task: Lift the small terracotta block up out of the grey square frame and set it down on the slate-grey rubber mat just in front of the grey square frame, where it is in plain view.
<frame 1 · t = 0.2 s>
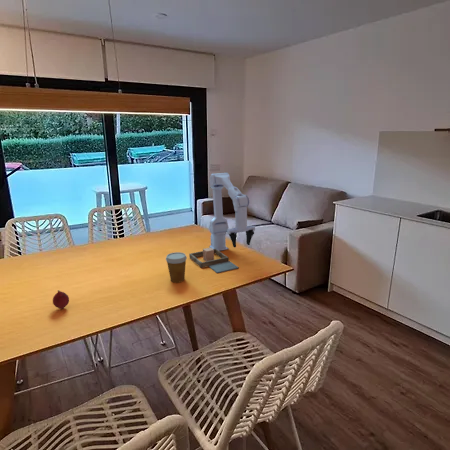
hand: (241, 245, 173), 10 cm above the table, tool pointing down, fingers open, 7 cm apart
disposable coffee cup: (177, 280, 159), on the table
mat: (223, 267, 172), on the table
grey square frame: (208, 259, 182), on the table
onion: (62, 309, 136), on the table
block: (208, 260, 182), resting in grey square frame
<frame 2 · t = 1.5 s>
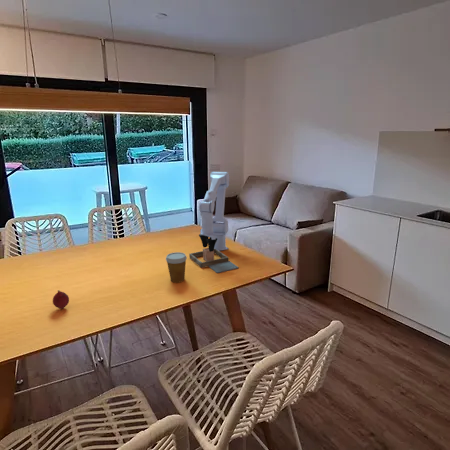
hand: (208, 249, 180), 6 cm above the table, tool pointing down, fingers open, 7 cm apart
nothing on the table moved.
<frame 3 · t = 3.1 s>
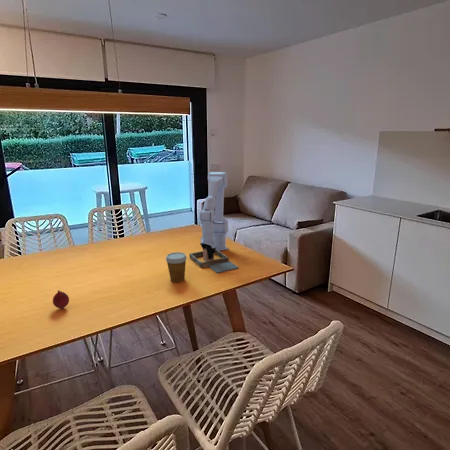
hand: (208, 257, 182), 2 cm above the table, tool pointing down, fingers closed on block, 4 cm apart
block: (208, 259, 182), resting in grey square frame, touching gripper
everything else where it was.
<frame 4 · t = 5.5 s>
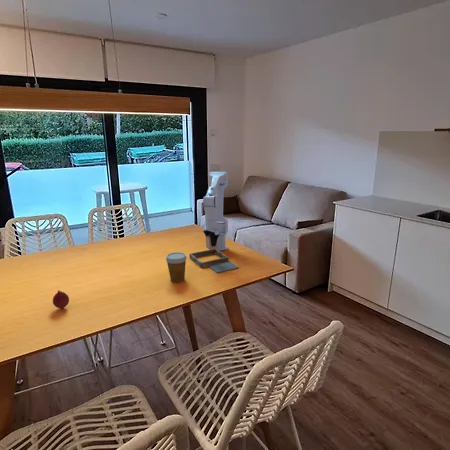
hand: (211, 244, 177), 9 cm above the table, tool pointing down, fingers closed on block, 4 cm apart
block: (211, 247, 177), point 8 cm above the table, touching gripper
everything else where it was.
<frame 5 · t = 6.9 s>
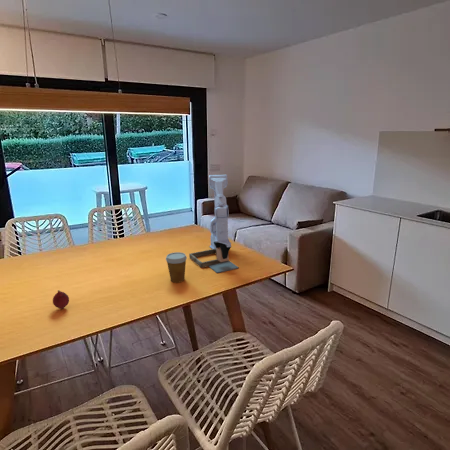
hand: (222, 256, 171), 6 cm above the table, tool pointing down, fingers closed on block, 4 cm apart
block: (222, 259, 171), point 4 cm above the table, touching gripper
everything else where it was.
when the fingers open (4 cm above the table, at t = 8.1 s): block drops 2 cm, resting on mat.
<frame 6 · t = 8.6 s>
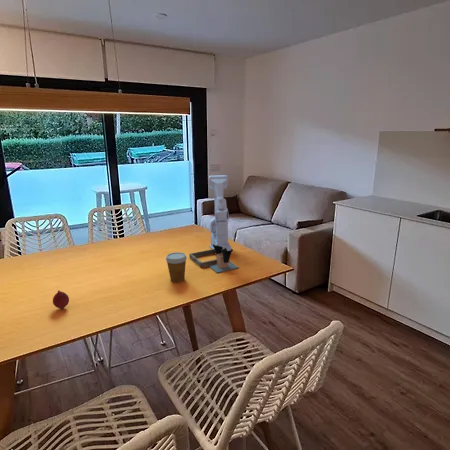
hand: (222, 260, 171), 4 cm above the table, tool pointing down, fingers open, 7 cm apart
block: (222, 266, 172), point 1 cm above the table, touching mat
everything else where it was.
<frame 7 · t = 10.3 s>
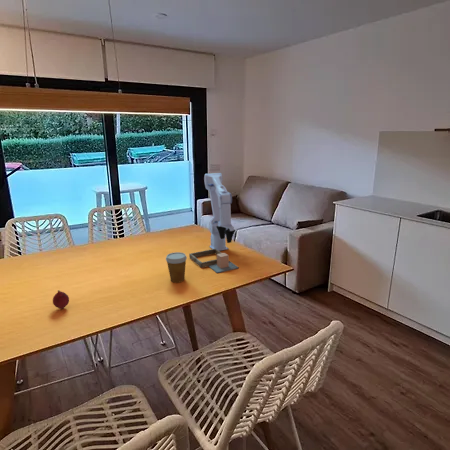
hand: (225, 240, 183), 9 cm above the table, tool pointing down, fingers open, 7 cm apart
nothing on the table moved.
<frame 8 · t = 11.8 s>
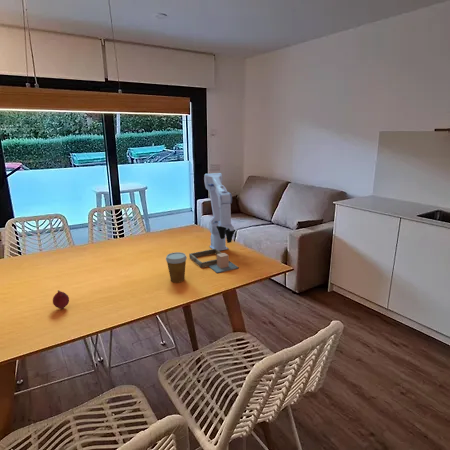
hand: (225, 240, 183), 9 cm above the table, tool pointing down, fingers open, 7 cm apart
nothing on the table moved.
at the end: block inside the target area on the mat (0.5 cm from its centre), point 0.6 cm above the mat's base; the gripper is holding nothing; block moved 12.6 cm from its start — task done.
